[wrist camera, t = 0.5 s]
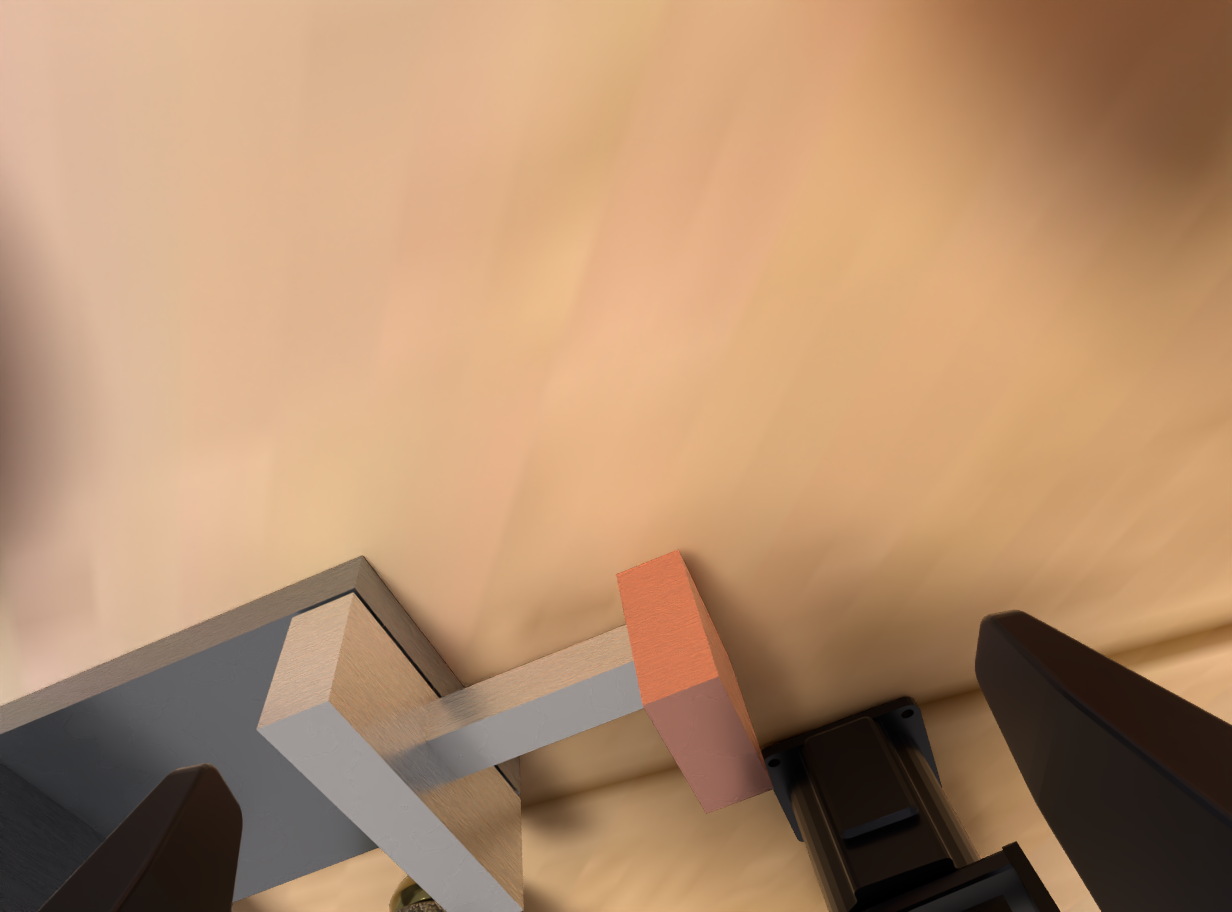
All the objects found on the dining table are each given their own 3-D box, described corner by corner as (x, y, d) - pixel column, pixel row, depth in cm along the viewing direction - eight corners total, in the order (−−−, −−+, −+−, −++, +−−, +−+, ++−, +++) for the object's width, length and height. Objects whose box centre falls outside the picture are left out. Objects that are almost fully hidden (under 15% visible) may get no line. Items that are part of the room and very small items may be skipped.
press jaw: (754, 710, 27) (800, 844, 23) (470, 817, 28) (465, 964, 24) (642, 472, 22) (678, 592, 17) (292, 617, 23) (245, 764, 18)
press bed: (519, 759, 30) (523, 904, 25) (176, 890, 31) (119, 1050, 26) (362, 555, 24) (329, 694, 19) (-50, 727, 25) (-174, 895, 21)
